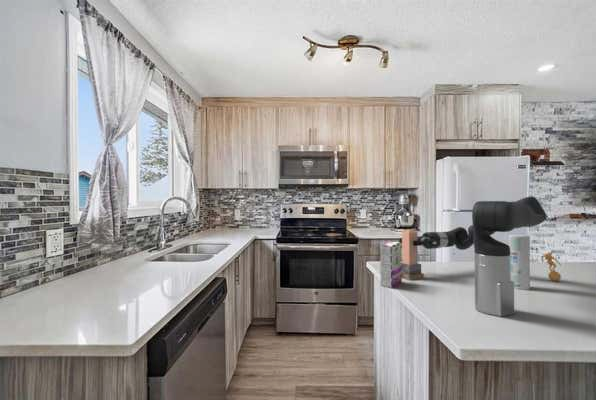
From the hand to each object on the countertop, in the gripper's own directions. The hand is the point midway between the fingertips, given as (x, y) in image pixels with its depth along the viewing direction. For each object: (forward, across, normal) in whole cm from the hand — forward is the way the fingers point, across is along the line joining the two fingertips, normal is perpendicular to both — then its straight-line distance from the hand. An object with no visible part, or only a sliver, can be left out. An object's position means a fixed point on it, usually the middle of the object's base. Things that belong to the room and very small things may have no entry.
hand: (406, 242), depth 134 cm
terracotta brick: (-2, 0, +10) cm, 10 cm away
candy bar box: (+13, +6, +16) cm, 21 cm away
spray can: (-29, +29, +16) cm, 44 cm away
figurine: (-51, +28, +16) cm, 60 cm away
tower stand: (-2, 0, +16) cm, 16 cm away
